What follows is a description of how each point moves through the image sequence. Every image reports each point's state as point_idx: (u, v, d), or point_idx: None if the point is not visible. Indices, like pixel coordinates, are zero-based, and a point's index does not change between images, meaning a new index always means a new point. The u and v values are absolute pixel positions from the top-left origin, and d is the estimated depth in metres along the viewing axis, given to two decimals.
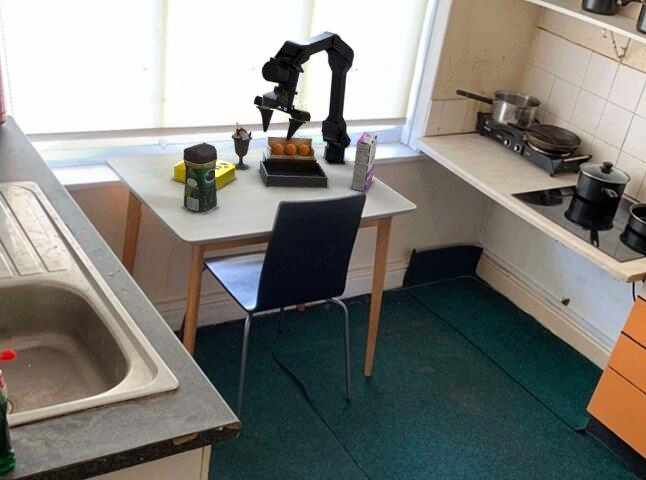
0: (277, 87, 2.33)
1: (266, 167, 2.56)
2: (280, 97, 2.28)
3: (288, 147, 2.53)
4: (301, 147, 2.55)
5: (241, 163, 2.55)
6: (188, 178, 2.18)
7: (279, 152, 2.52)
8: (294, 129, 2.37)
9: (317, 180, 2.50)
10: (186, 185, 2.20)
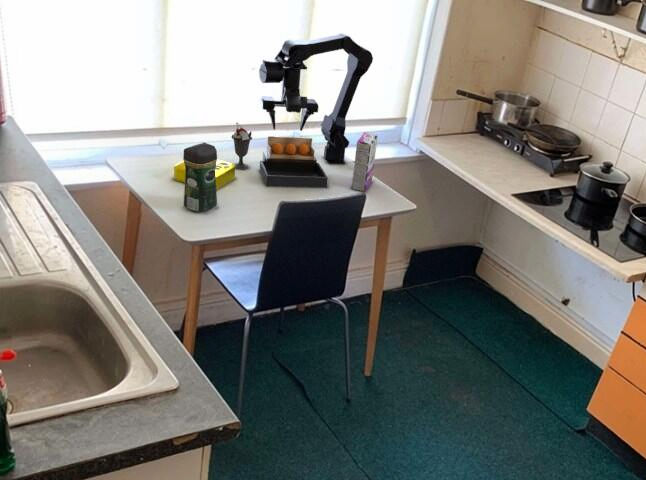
0: (288, 89, 2.47)
1: (266, 167, 2.56)
2: (306, 100, 2.47)
3: (288, 146, 2.54)
4: (301, 146, 2.55)
5: (241, 163, 2.55)
6: (188, 178, 2.18)
7: (279, 150, 2.53)
8: None
9: (317, 180, 2.50)
10: (186, 185, 2.20)
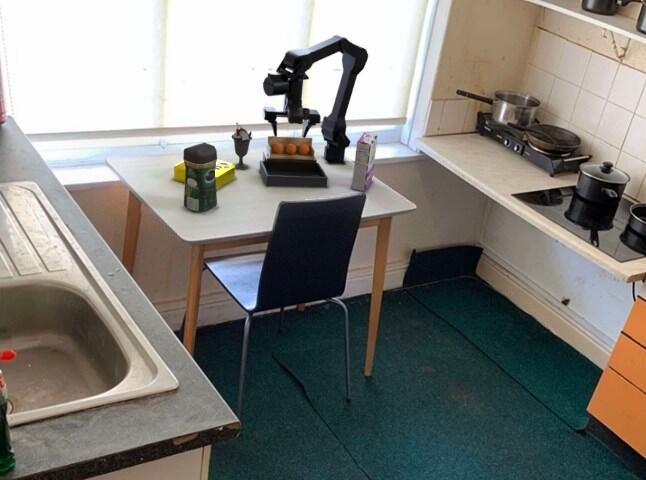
0: (290, 100, 2.45)
1: (266, 167, 2.56)
2: (308, 112, 2.45)
3: (288, 146, 2.53)
4: (301, 146, 2.55)
5: (241, 163, 2.55)
6: (188, 178, 2.18)
7: (279, 151, 2.52)
8: None
9: (317, 180, 2.50)
10: (186, 185, 2.20)
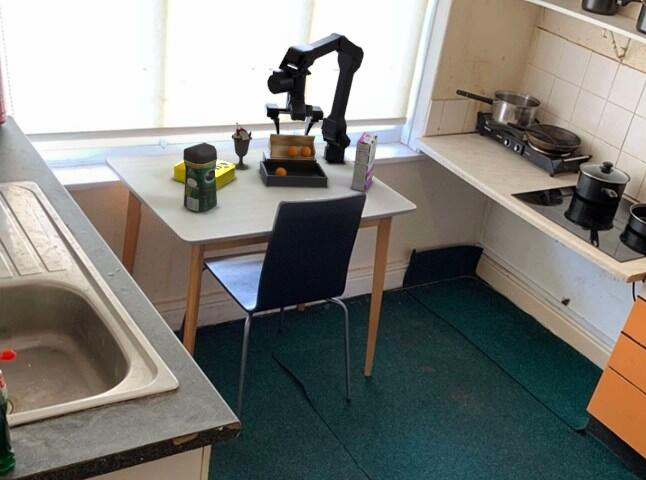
0: (293, 96, 2.41)
1: (266, 167, 2.56)
2: (311, 109, 2.41)
3: (290, 154, 2.51)
4: (303, 153, 2.53)
5: (241, 163, 2.55)
6: (188, 178, 2.18)
7: (281, 168, 2.51)
8: None
9: (317, 180, 2.50)
10: (186, 185, 2.20)
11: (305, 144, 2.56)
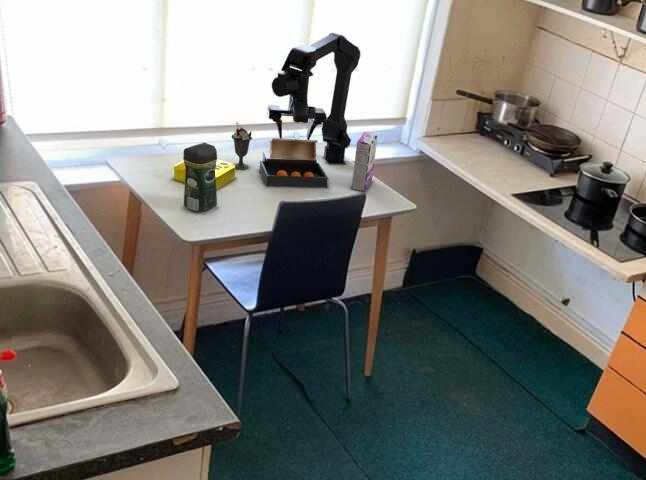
0: (296, 98, 2.39)
1: (266, 167, 2.56)
2: (314, 110, 2.38)
3: (293, 173, 2.49)
4: (306, 173, 2.51)
5: (241, 163, 2.55)
6: (188, 178, 2.18)
7: (283, 175, 2.48)
8: None
9: (317, 180, 2.50)
10: (186, 185, 2.20)
11: (307, 143, 2.53)
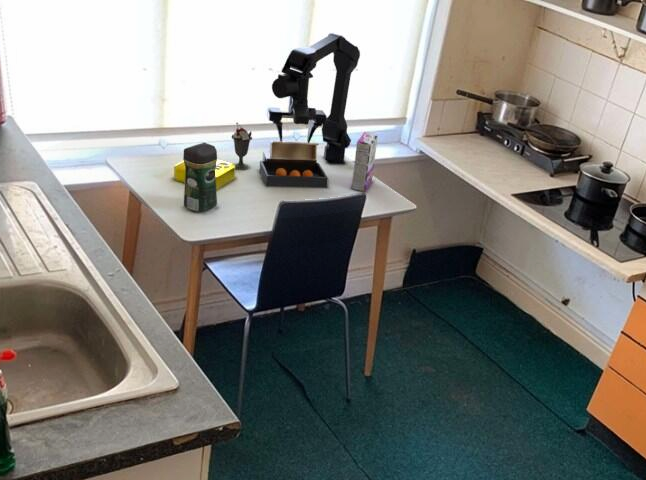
0: (296, 100, 2.38)
1: (266, 167, 2.56)
2: (314, 112, 2.38)
3: (291, 171, 2.51)
4: (304, 171, 2.53)
5: (241, 163, 2.55)
6: (188, 178, 2.18)
7: (282, 169, 2.50)
8: None
9: (317, 180, 2.50)
10: (186, 185, 2.20)
11: None
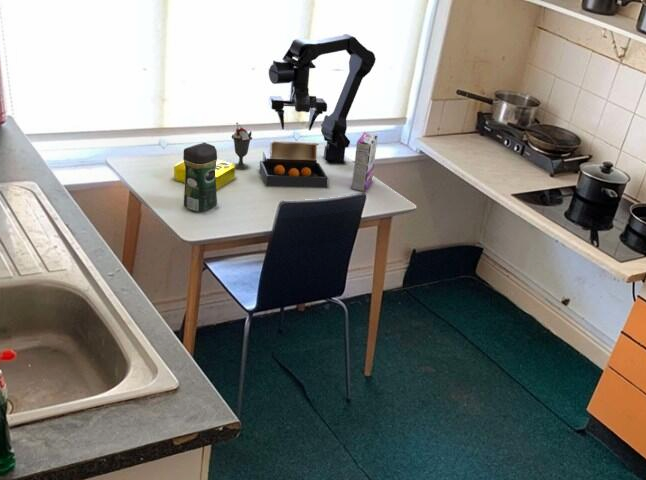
0: (297, 88, 2.46)
1: (266, 167, 2.56)
2: (315, 100, 2.46)
3: None
4: None
5: (241, 163, 2.55)
6: (188, 178, 2.18)
7: None
8: None
9: (317, 180, 2.50)
10: (186, 185, 2.20)
11: None
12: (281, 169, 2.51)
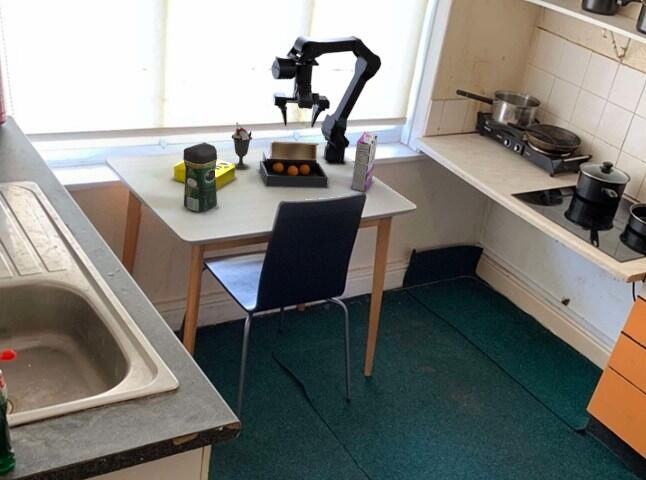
0: (300, 85, 2.48)
1: (266, 167, 2.56)
2: (318, 97, 2.48)
3: None
4: (301, 173, 2.57)
5: (241, 163, 2.55)
6: (188, 178, 2.18)
7: None
8: None
9: (317, 180, 2.50)
10: (186, 185, 2.20)
11: None
12: (278, 162, 2.55)
